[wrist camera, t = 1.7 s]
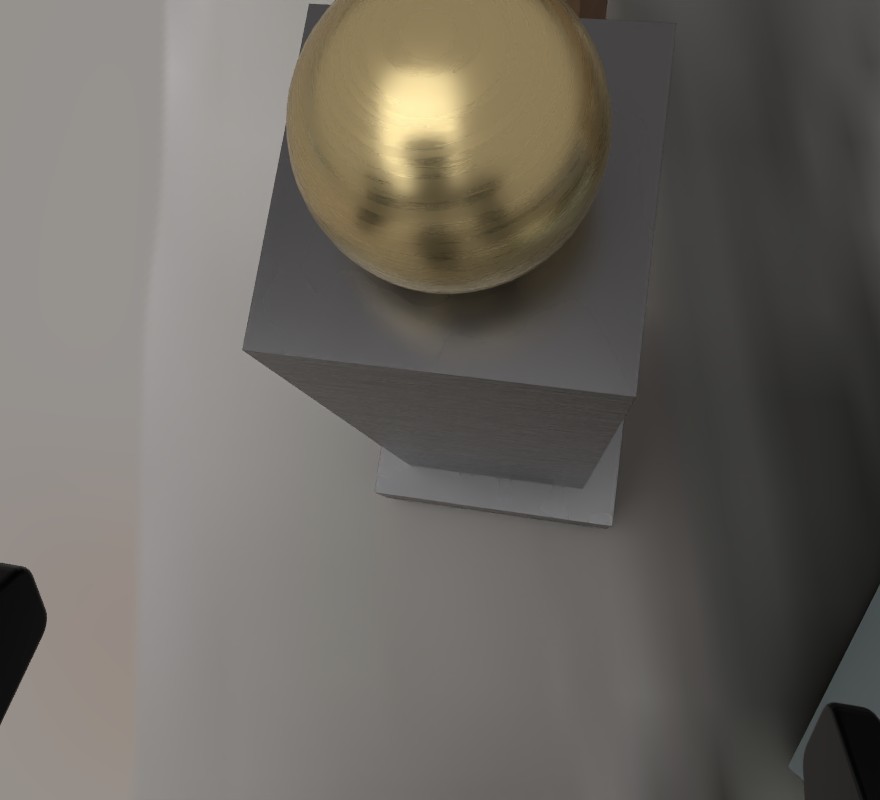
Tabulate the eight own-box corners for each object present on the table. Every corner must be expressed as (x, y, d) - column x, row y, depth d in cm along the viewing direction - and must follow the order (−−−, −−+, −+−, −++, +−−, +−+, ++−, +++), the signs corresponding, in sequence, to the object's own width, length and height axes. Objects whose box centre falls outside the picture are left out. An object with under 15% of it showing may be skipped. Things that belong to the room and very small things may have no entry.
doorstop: (606, 528, 22) (784, 445, 6) (388, 497, 23) (5, 348, 7) (629, 314, 23) (840, -276, 7) (420, 292, 24) (156, -277, 8)
